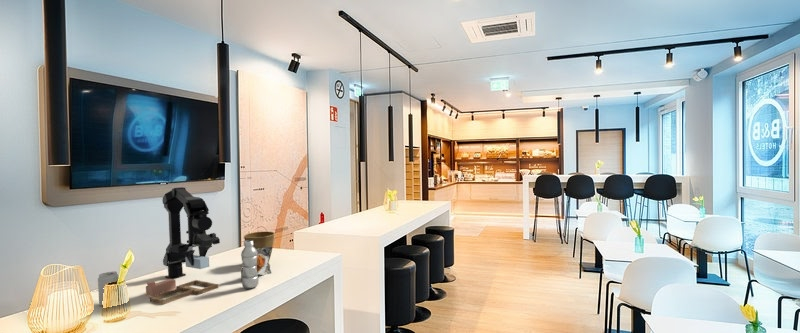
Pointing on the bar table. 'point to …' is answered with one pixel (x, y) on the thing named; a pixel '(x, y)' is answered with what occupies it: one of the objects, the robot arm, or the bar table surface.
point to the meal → (261, 262)
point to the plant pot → (261, 240)
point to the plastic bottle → (249, 265)
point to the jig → (186, 290)
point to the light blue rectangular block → (198, 262)
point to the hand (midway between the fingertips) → (197, 264)
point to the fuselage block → (160, 287)
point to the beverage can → (105, 282)
